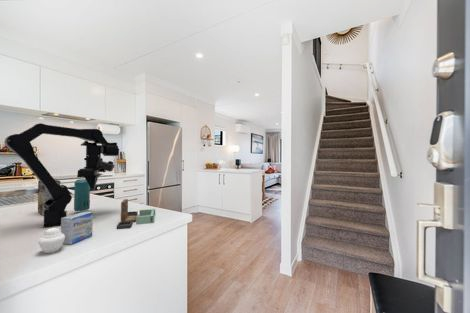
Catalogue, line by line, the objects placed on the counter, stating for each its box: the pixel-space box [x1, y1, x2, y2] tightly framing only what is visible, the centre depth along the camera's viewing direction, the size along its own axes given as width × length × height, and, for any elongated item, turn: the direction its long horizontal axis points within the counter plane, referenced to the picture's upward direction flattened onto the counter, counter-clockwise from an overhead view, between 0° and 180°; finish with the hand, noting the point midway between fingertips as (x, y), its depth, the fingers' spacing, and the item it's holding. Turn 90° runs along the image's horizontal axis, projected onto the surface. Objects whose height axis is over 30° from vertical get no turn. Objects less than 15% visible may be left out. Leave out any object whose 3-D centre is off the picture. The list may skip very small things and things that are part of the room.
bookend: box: [120, 198, 150, 224], centre depth 93 cm, size 11×7×9 cm, turn 109°
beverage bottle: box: [73, 173, 91, 212], centre depth 102 cm, size 6×7×20 cm
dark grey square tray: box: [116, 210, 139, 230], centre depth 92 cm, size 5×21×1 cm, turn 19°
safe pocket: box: [136, 208, 156, 225], centre depth 94 cm, size 7×12×3 cm, turn 19°
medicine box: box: [60, 211, 94, 246], centre depth 70 cm, size 8×4×9 cm, turn 168°
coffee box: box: [37, 178, 61, 217], centre depth 100 cm, size 9×6×16 cm
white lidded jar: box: [37, 227, 65, 254], centre depth 62 cm, size 6×6×7 cm
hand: (92, 189), depth 96 cm, fingers closed
